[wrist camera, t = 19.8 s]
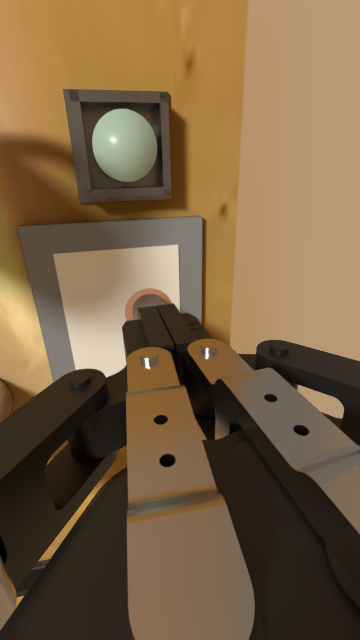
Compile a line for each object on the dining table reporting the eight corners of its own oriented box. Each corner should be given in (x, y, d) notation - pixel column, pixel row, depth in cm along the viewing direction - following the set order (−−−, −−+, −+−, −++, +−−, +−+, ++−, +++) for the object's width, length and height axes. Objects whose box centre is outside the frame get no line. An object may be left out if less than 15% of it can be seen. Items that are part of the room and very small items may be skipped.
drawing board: (199, 392, 49) (201, 397, 48) (63, 415, 45) (62, 422, 44) (199, 215, 38) (203, 217, 37) (19, 225, 34) (16, 227, 32)
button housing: (171, 198, 36) (177, 200, 33) (80, 202, 34) (78, 205, 31) (167, 92, 32) (174, 84, 29) (63, 89, 30) (60, 81, 27)
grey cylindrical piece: (154, 332, 41) (172, 381, 32) (124, 316, 39) (133, 363, 30) (174, 304, 40) (199, 346, 31) (144, 286, 38) (161, 324, 29)
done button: (155, 180, 33) (158, 180, 31) (96, 182, 32) (96, 182, 30) (151, 113, 31) (155, 109, 29) (88, 112, 30) (87, 108, 28)
